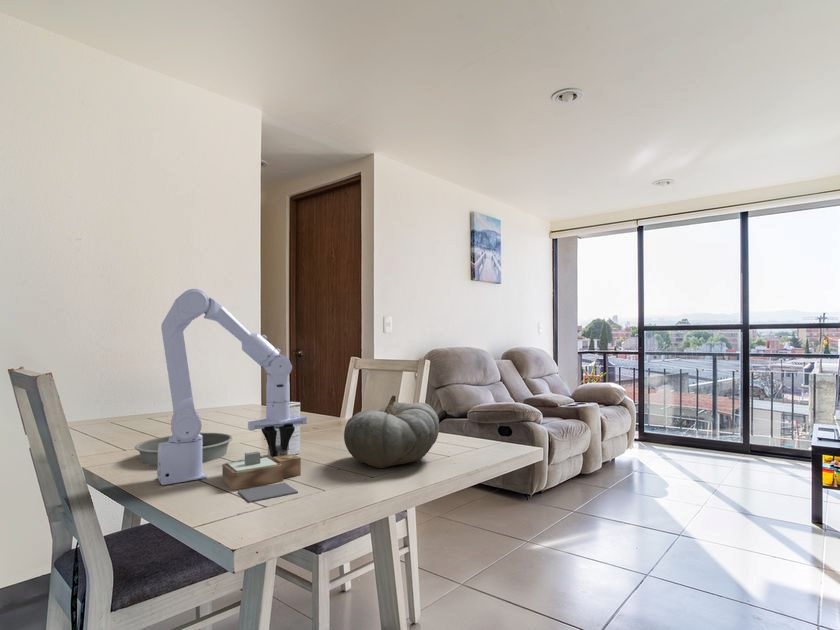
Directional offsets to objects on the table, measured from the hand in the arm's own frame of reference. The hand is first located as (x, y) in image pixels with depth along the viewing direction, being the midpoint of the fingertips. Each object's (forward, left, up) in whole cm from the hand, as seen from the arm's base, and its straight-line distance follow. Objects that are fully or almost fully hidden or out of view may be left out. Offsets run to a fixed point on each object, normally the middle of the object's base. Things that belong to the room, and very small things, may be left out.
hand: (278, 455), depth 126 cm
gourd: (+25, -14, -3) cm, 29 cm away
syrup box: (+6, +11, -3) cm, 13 cm away
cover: (-9, -9, 0) cm, 13 cm away
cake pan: (-17, +27, -3) cm, 32 cm away
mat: (-9, -20, -3) cm, 22 cm away
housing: (-6, -9, -3) cm, 11 cm away
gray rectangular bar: (0, +1, -1) cm, 1 cm away
